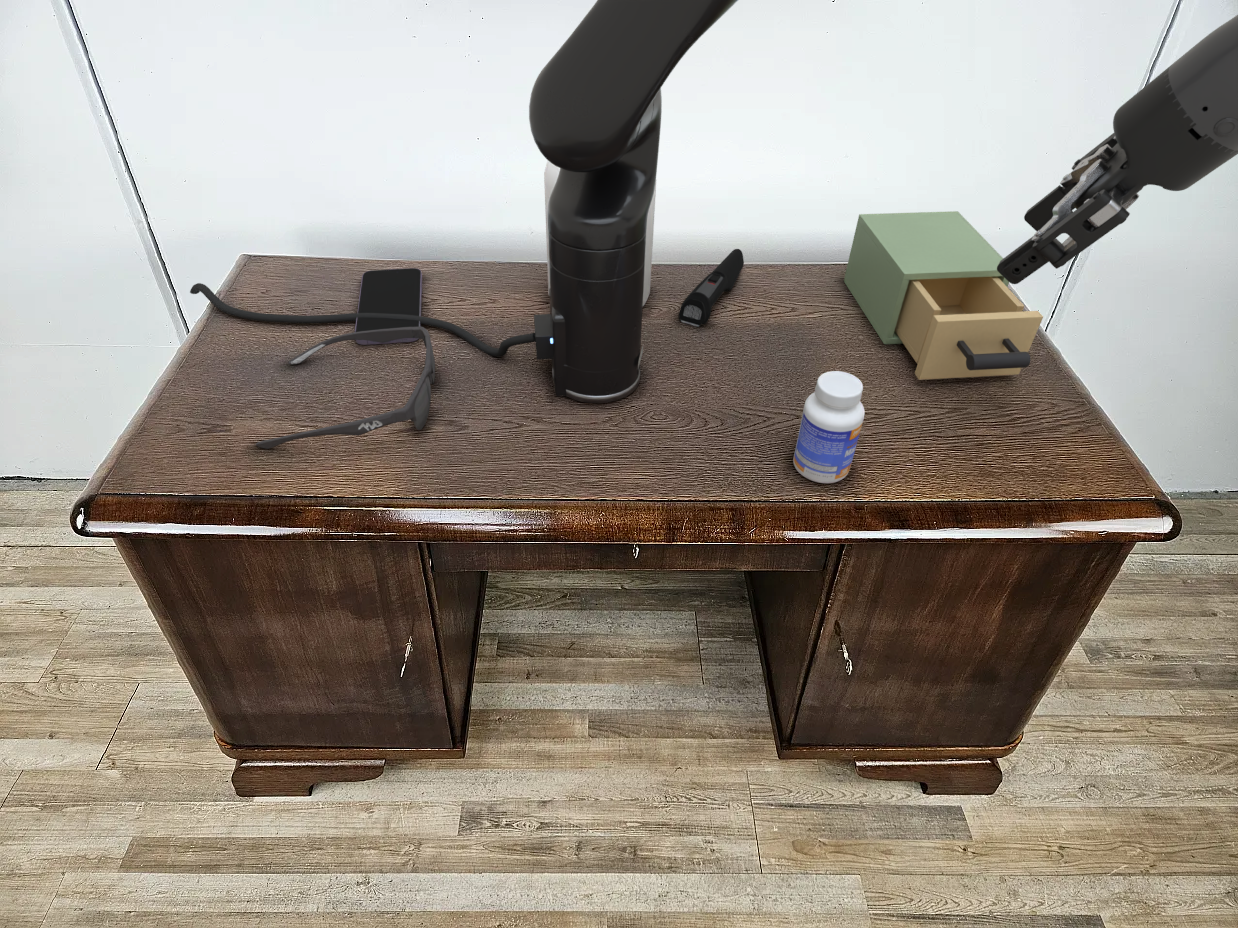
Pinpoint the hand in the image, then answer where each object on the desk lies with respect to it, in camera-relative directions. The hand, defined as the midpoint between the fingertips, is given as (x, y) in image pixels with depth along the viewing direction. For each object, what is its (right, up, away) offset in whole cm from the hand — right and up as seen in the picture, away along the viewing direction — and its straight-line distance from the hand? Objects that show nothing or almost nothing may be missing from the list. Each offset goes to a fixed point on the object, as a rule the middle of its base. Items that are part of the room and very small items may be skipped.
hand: (1018, 248), depth 68 cm
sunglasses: (-60, -12, +16) cm, 64 cm away
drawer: (+4, -6, +23) cm, 24 cm away
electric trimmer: (-22, +3, +33) cm, 40 cm away
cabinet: (+3, +1, +32) cm, 32 cm away
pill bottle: (-14, -18, +10) cm, 25 cm away
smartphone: (-61, 0, +29) cm, 67 cm away
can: (-36, +3, +33) cm, 49 cm away
